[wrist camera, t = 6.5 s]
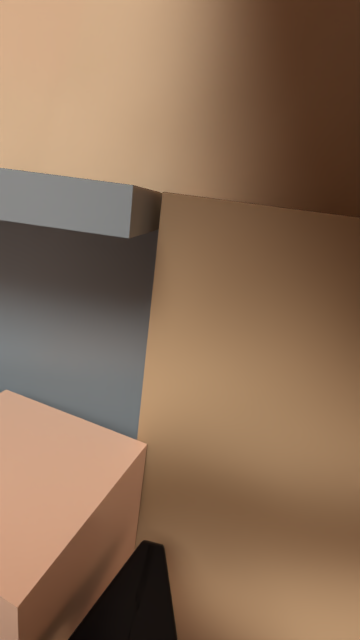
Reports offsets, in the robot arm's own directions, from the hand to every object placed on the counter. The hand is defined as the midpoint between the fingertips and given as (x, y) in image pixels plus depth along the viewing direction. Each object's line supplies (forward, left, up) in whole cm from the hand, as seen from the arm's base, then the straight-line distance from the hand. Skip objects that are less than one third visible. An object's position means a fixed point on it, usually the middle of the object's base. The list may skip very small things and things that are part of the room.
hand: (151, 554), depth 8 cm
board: (0, -4, -4) cm, 6 cm away
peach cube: (0, +3, -2) cm, 3 cm away
